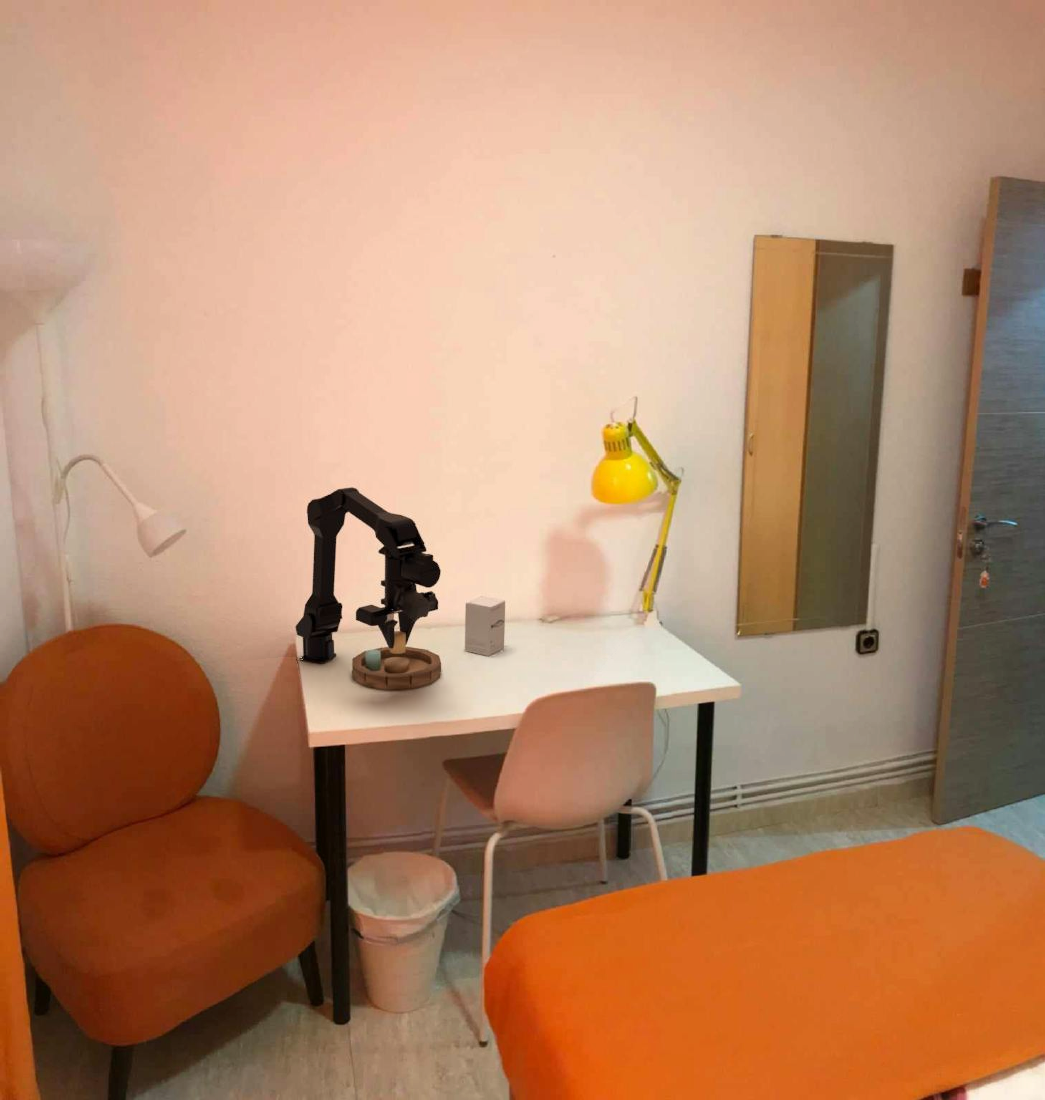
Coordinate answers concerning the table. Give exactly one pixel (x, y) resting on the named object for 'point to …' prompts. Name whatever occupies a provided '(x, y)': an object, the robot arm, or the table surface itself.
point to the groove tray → (398, 669)
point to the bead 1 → (373, 660)
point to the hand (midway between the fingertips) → (397, 646)
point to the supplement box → (484, 625)
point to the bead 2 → (399, 642)
